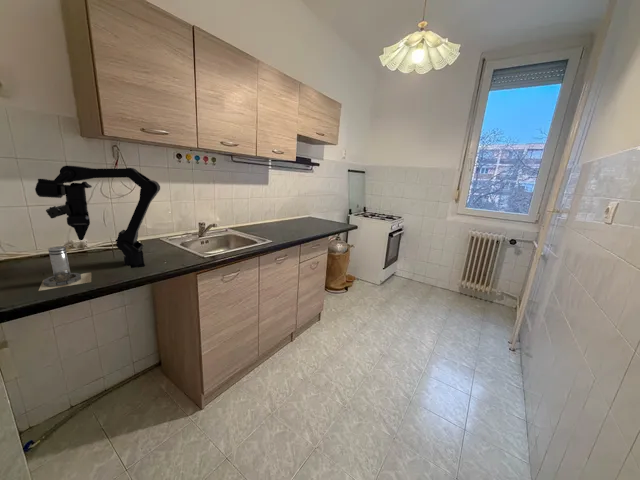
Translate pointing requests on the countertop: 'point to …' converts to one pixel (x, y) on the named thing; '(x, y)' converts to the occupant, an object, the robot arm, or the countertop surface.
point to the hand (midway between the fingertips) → (81, 237)
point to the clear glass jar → (60, 263)
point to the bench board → (84, 279)
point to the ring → (51, 284)
